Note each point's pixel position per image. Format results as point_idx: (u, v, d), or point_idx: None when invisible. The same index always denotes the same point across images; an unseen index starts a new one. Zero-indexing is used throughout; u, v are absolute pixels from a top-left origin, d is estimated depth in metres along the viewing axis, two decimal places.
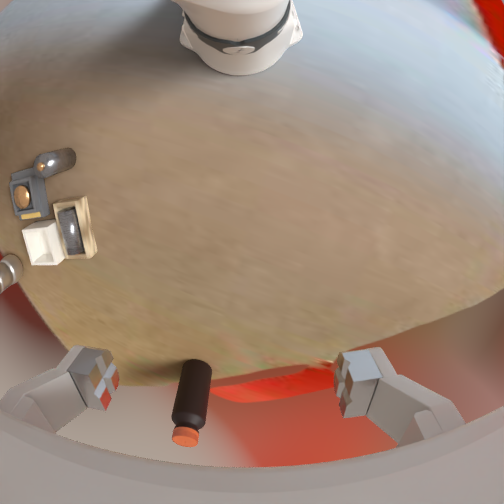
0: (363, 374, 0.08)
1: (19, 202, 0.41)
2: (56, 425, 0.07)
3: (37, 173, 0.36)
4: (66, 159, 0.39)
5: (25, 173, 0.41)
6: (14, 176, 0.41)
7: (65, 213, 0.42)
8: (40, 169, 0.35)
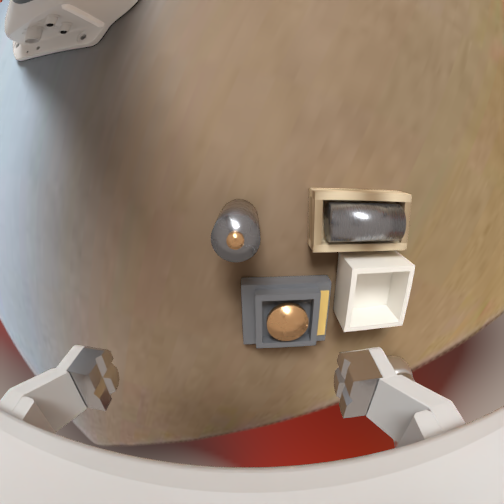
0: (363, 374, 0.08)
1: (296, 330, 0.31)
2: (56, 425, 0.07)
3: (248, 253, 0.24)
4: (236, 204, 0.27)
5: (248, 312, 0.33)
6: (249, 337, 0.34)
7: (335, 218, 0.26)
8: (240, 239, 0.23)
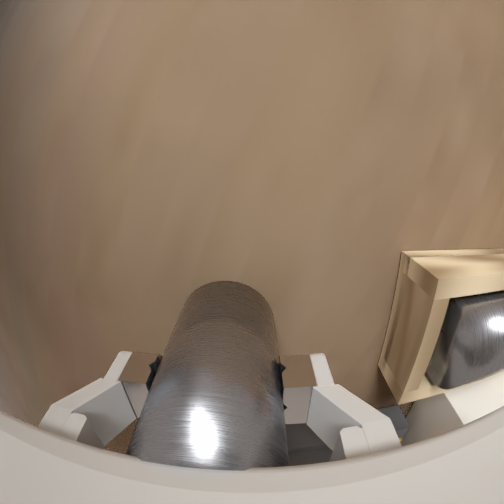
0: (296, 381, 0.08)
1: None
2: (104, 439, 0.07)
3: None
4: (212, 325, 0.09)
5: None
6: None
7: (475, 350, 0.08)
8: None
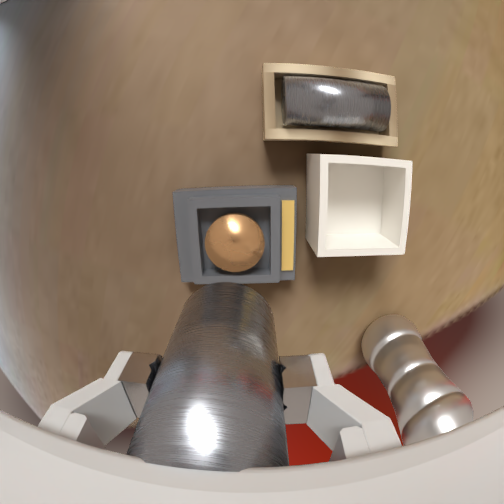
0: (296, 381, 0.08)
1: (247, 255, 0.23)
2: (104, 439, 0.07)
3: None
4: (213, 326, 0.09)
5: (184, 232, 0.24)
6: (188, 271, 0.25)
7: (288, 85, 0.18)
8: None
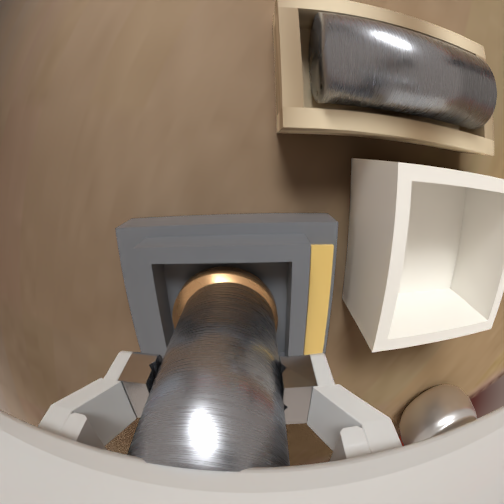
0: (296, 381, 0.08)
1: None
2: (104, 439, 0.07)
3: None
4: (213, 326, 0.09)
5: (140, 296, 0.13)
6: (153, 352, 0.15)
7: (331, 23, 0.07)
8: None
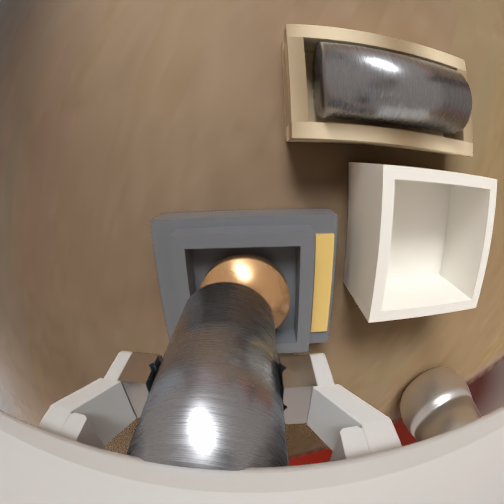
0: (296, 381, 0.08)
1: None
2: (104, 439, 0.07)
3: None
4: (212, 326, 0.09)
5: (170, 279, 0.16)
6: None
7: (330, 53, 0.10)
8: None
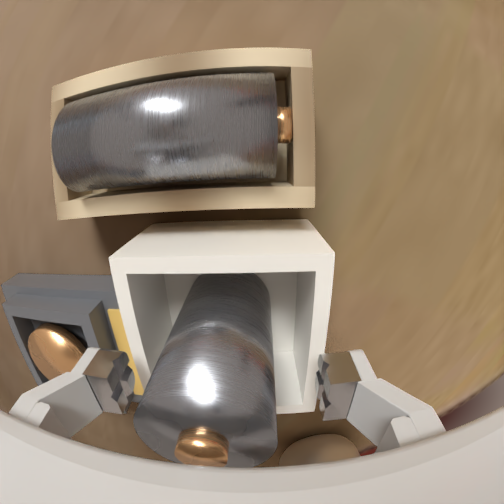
0: (341, 377, 0.08)
1: None
2: (71, 430, 0.07)
3: (241, 463, 0.07)
4: (215, 298, 0.10)
5: None
6: None
7: (57, 124, 0.08)
8: (216, 458, 0.06)
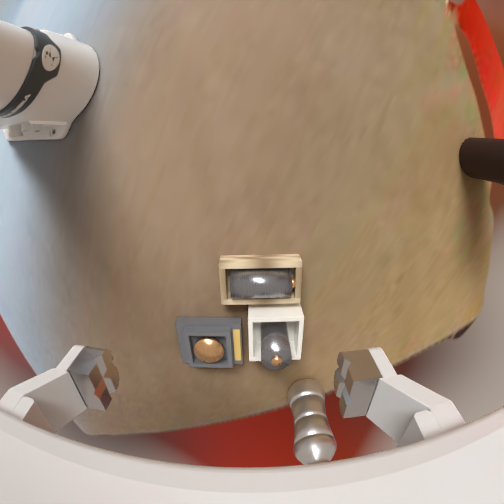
0: (363, 374, 0.08)
1: (215, 356, 0.42)
2: (56, 425, 0.07)
3: (283, 366, 0.36)
4: (274, 326, 0.40)
5: (183, 341, 0.44)
6: (186, 358, 0.45)
7: (231, 283, 0.37)
8: (280, 361, 0.35)
